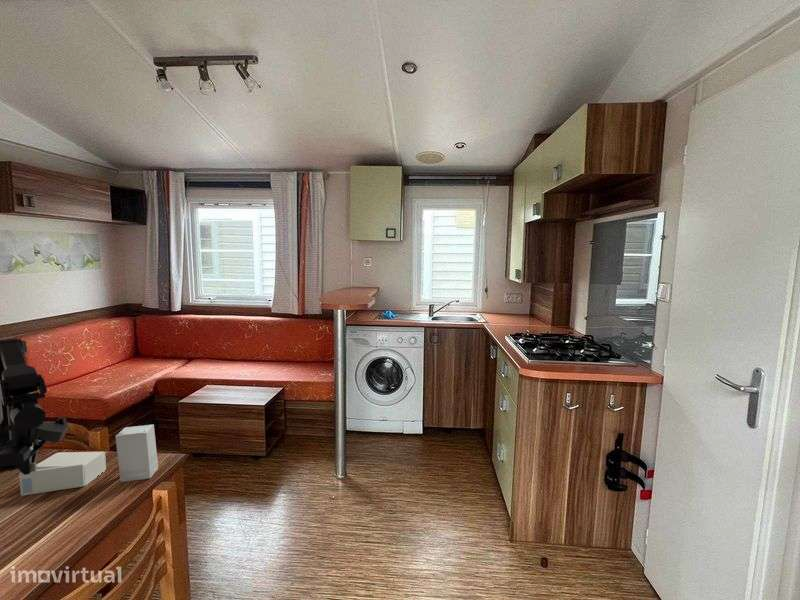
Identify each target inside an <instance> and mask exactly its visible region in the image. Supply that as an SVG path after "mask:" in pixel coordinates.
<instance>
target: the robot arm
mask: <svg viewBox="0 0 800 600" xmlns="http://www.w3.org/2000/svg"><path fill="white" fill-rule="evenodd" d="M26 354H28V347H27V341H26V340H22V339H21V338H17V337H15V338H7V339H6V338H5V339H0V413H1V414H0V415H1V416H0V470H16V469H17V470H19V471H20V472H22V473H23V474H24V475H27V474H30V471H31V463H35V462H36V461H37V457H38V454H39V451H40V449H41V448H42V447H43V446H44V445H46V444H47V442H51V443H53V444H56V443H59V442H61V440H62V439H63V438H65V435H66V433H67V430H68V429H70V426H69V423H68V421H67V418H66V417H59V418H58V419H56V421H50V422H45V420H46V416H47V415H46V412H45V411H44V409H43V408H42V407H41V405H40V404H39V401H38V400H40V399H43V398H46V393H48V392H47V391H48V390H47V389H48V388H47V385H46V383H45V382H46V381H45V379H44V377H43V376H42V374H40V373H38V371H37V369H36V368H35V367H34V366H30V365H28V364H27V361H26V358H25V355H26Z"/></svg>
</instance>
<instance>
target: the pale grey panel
mask: <svg viewBox="0 0 800 600" xmlns="http://www.w3.org/2000/svg"><path fill="white" fill-rule="evenodd" d="M36 465H37V462H36V461H35V463H31V471H30V474H27V475H24V474H23V473H22V472H21V471H20V472H19V473H18V474H19V475H18V476H19V487H20V496H28V495H29V496H30V495H35V494H36V495H37V494H41V493H42V494H43V493H47V492H54V491H60V490H61V491H62V490H69V489H75V488H81V487H85V486H84V485H85V479H84V464H77V465H69V466H62V467H55V468H47V469H40V470H37V466H36Z"/></svg>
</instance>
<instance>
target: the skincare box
mask: <svg viewBox="0 0 800 600" xmlns="http://www.w3.org/2000/svg"><path fill="white" fill-rule="evenodd" d="M155 433H156V432H155V424H145V425H137V426H136V425H135V426H127V427H124V428H123V429H122V430H120V432H118V433H117V434H115V443H116V444H115V446H116V452H117V460H118V463H117V464H118V470H119V479H120V483H124V482H125V483H126V482H130V481H131V482H132V481H139V480H140V481H141V480H147V479H151V478H152V477H153V475H155V473H156V472H157V471H158V469H159V462H158V454H157V443H156V434H155Z"/></svg>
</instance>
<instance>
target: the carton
mask: <svg viewBox="0 0 800 600" xmlns="http://www.w3.org/2000/svg"><path fill="white" fill-rule="evenodd" d="M106 461H107V459H106V451H75V452H74V451H71V452H70V451H68V452H67V451H66V452H60V451H59V452H56V453H54V454H53V455H50V456H49V457H47V458H45V459H44V460H42V461H41V462H38V463H36V466H37V470H40V469H47V468H55V467H62V466H69V465H77V464H84V479H85V485H84V486H83V487H86V486H87V485H89V484H90V483H91V482H93V481H94V480H95V479H97V478H98V477H99V476H100V475H102V474H103V473H105V472H106V471H107V463H106ZM105 470H106V471H105ZM102 472H103V473H102ZM101 473H102V474H101ZM98 475H99V476H98ZM97 476H98V477H97Z"/></svg>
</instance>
